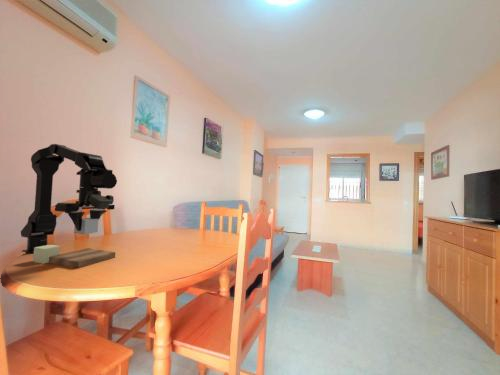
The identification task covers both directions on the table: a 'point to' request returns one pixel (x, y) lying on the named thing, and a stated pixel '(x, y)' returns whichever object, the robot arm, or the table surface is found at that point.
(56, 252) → the sage block
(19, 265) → the table surface
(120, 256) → the table surface
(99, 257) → the walnut base
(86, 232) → the slate block
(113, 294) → the table surface
